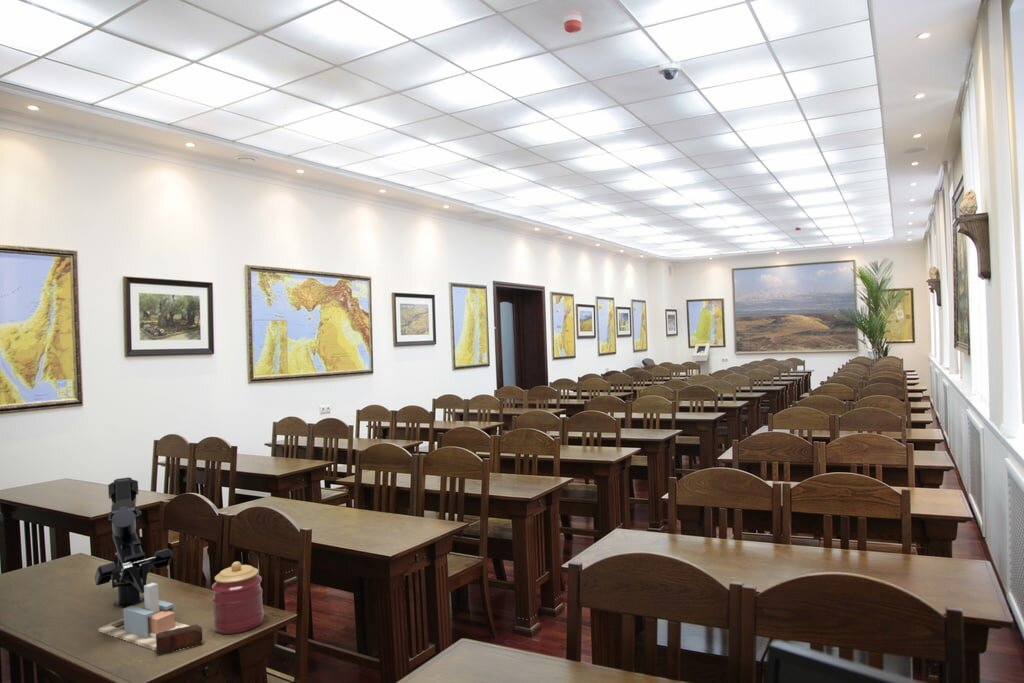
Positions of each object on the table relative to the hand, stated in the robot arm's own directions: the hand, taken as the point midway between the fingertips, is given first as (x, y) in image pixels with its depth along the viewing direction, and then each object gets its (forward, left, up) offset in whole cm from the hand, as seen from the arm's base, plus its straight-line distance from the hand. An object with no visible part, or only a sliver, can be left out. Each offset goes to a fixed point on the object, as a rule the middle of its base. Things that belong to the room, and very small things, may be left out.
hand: (143, 592), depth 180 cm
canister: (+19, +15, -12) cm, 27 cm away
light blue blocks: (0, +1, -12) cm, 12 cm away
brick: (+17, -1, -12) cm, 20 cm away
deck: (-2, +1, -12) cm, 12 cm away
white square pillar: (+4, +1, -11) cm, 11 cm away
